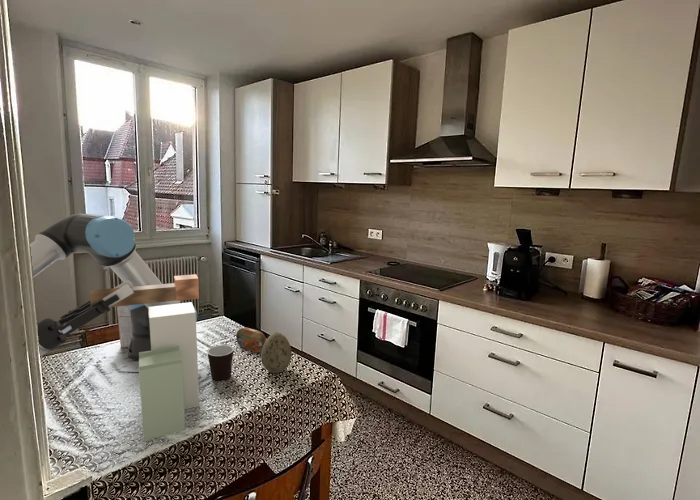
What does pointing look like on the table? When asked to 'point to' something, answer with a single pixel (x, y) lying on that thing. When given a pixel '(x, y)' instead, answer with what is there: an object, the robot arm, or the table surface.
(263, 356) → the decorative egg
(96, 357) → the table surface
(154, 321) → the tall white pillar
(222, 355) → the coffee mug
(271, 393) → the table surface
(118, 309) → the cracker box
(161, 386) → the mint green upright block
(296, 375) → the table surface
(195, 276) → the bar
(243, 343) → the tin
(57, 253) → the robot arm
